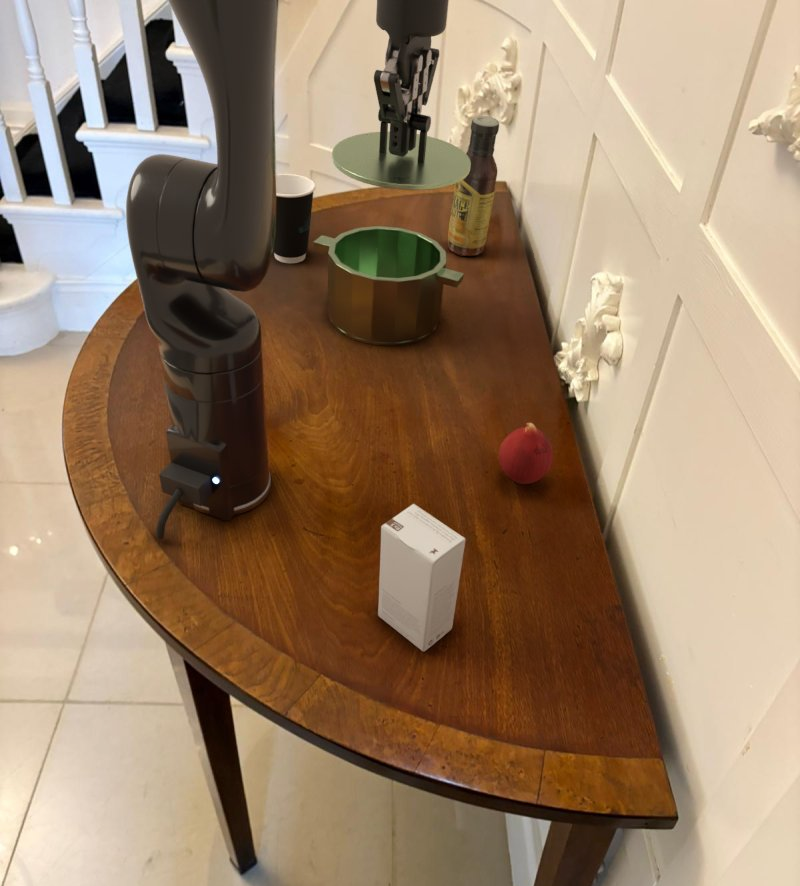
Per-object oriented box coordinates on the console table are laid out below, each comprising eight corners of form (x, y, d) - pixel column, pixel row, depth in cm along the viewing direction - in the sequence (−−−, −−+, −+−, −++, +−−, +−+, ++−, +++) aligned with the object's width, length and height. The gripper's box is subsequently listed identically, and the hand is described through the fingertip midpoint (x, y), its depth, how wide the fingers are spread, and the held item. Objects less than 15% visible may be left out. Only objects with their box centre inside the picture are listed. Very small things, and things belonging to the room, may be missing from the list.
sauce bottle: (441, 242, 129) (456, 111, 115) (476, 239, 131) (495, 110, 117) (454, 260, 125) (472, 127, 111) (490, 258, 127) (512, 126, 113)
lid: (439, 207, 87) (445, 149, 83) (307, 174, 91) (306, 116, 87) (488, 160, 98) (496, 106, 94) (368, 132, 102) (370, 78, 98)
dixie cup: (261, 245, 124) (257, 173, 116) (311, 243, 125) (310, 172, 118) (267, 269, 118) (264, 195, 111) (319, 267, 120) (319, 194, 112)
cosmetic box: (453, 628, 73) (472, 537, 64) (421, 656, 70) (436, 564, 62) (405, 591, 75) (416, 499, 67) (372, 617, 73) (379, 524, 64)
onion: (544, 468, 90) (559, 411, 84) (546, 501, 86) (562, 444, 80) (494, 462, 90) (505, 404, 85) (493, 495, 86) (505, 437, 80)
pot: (431, 363, 104) (439, 297, 97) (291, 321, 108) (289, 255, 102) (471, 311, 114) (481, 248, 107) (341, 274, 119) (343, 212, 112)
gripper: (407, -40, 87) (396, 128, 99) (352, -19, 77) (347, 163, 90) (471, -29, 85) (451, 141, 97) (422, -6, 76) (408, 178, 88)
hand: (401, 151), depth 93 cm, fingers closed on lid
